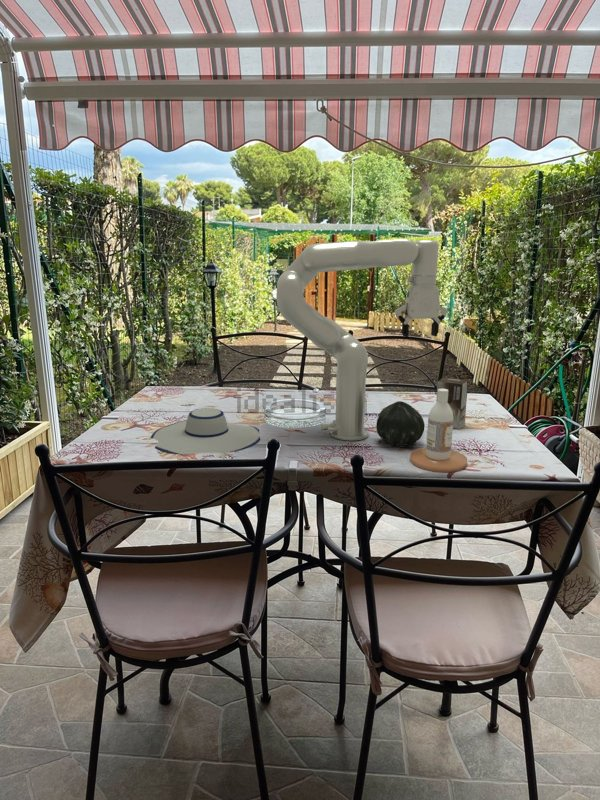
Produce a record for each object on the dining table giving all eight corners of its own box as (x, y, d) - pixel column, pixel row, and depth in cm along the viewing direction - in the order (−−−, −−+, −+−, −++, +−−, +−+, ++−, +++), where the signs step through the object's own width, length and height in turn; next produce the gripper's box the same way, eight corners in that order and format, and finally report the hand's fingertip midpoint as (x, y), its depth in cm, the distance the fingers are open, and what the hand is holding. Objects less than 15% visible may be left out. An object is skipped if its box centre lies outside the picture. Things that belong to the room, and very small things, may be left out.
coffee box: (465, 425, 195) (469, 380, 191) (459, 429, 190) (463, 383, 185) (440, 420, 200) (443, 377, 195) (433, 425, 194) (437, 380, 190)
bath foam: (441, 462, 155) (447, 394, 150) (421, 456, 160) (425, 389, 155) (454, 456, 160) (460, 389, 155) (434, 450, 165) (439, 385, 160)
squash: (409, 416, 186) (388, 387, 178) (440, 430, 173) (418, 399, 165) (382, 447, 184) (359, 419, 176) (411, 463, 171) (387, 434, 163)
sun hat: (136, 432, 187) (134, 406, 185) (232, 417, 206) (232, 393, 204) (173, 466, 158) (171, 436, 155) (282, 444, 176) (282, 416, 174)
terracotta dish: (425, 474, 151) (426, 469, 151) (401, 454, 166) (401, 449, 166) (477, 469, 155) (478, 464, 155) (449, 450, 170) (449, 445, 170)
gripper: (401, 282, 167) (398, 338, 171) (454, 282, 170) (450, 337, 174) (392, 280, 174) (389, 335, 178) (444, 280, 177) (440, 334, 181)
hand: (419, 336), depth 176 cm, fingers open, 9 cm apart
